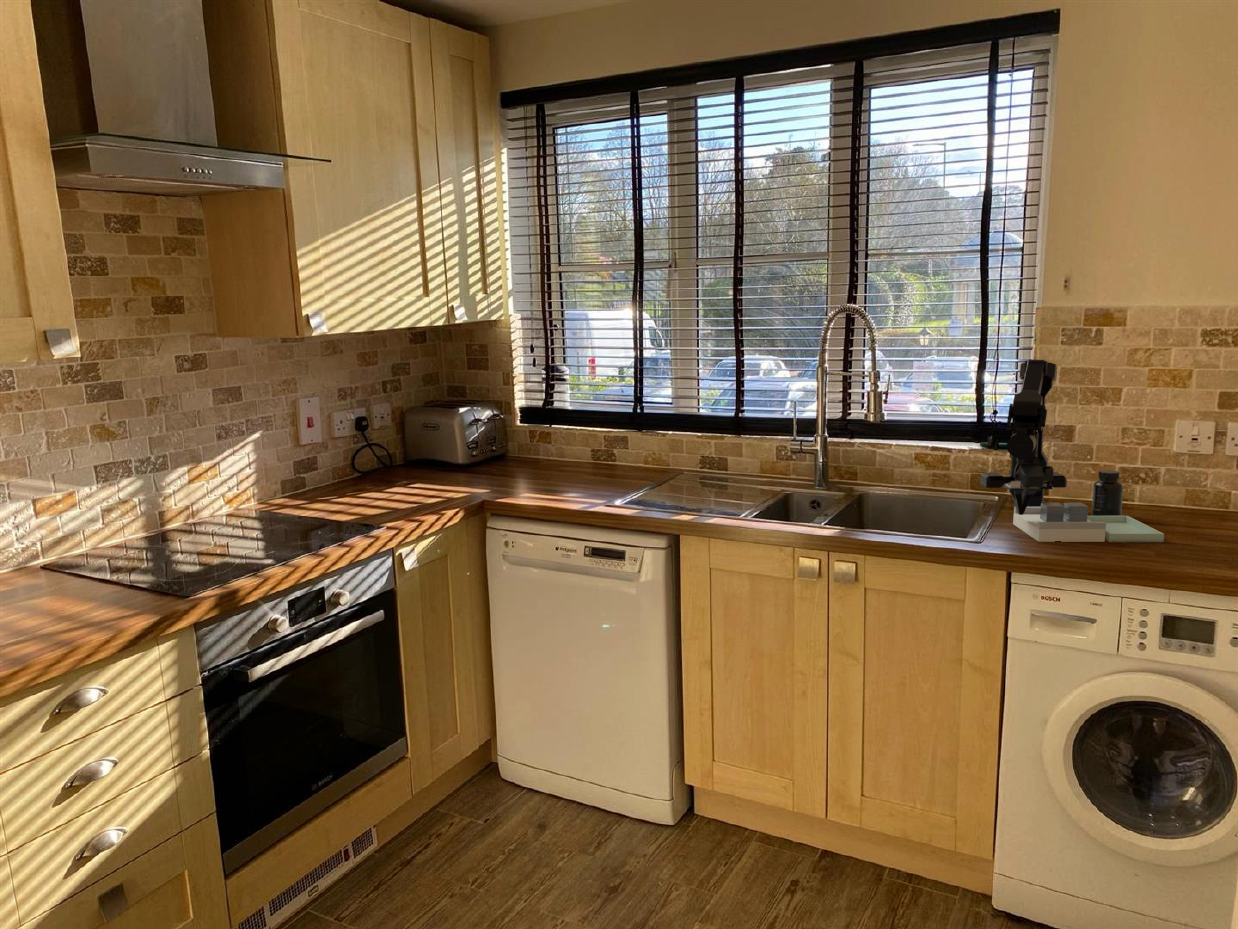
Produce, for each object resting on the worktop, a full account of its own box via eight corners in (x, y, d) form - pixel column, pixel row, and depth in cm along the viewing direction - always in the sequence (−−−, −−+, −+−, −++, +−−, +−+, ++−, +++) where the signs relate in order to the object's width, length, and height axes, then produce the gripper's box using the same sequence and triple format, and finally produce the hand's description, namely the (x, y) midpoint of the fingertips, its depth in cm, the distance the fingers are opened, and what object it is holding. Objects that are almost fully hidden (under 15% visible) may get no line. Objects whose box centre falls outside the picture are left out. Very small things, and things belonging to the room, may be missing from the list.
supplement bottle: (1104, 512, 241) (1108, 468, 239) (1127, 518, 235) (1130, 472, 233) (1085, 515, 239) (1088, 470, 237) (1107, 521, 232) (1110, 474, 230)
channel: (1013, 524, 231) (1014, 506, 231) (1074, 523, 230) (1075, 506, 229) (1038, 541, 215) (1039, 523, 214) (1104, 541, 214) (1106, 523, 213)
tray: (1077, 523, 231) (1078, 515, 230) (1126, 523, 230) (1127, 515, 229) (1110, 542, 213) (1110, 533, 213) (1163, 542, 212) (1164, 533, 212)
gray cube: (1063, 518, 224) (1064, 502, 223) (1079, 518, 223) (1081, 502, 223) (1069, 522, 220) (1070, 506, 219) (1086, 522, 219) (1088, 506, 219)
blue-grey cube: (1039, 518, 224) (1040, 502, 223) (1056, 518, 224) (1057, 502, 223) (1046, 522, 220) (1047, 506, 219) (1063, 522, 220) (1064, 506, 219)
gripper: (995, 457, 212) (992, 522, 215) (1078, 457, 211) (1073, 522, 214) (980, 449, 223) (977, 511, 226) (1059, 449, 222) (1055, 511, 225)
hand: (1020, 514), depth 222 cm, fingers closed
